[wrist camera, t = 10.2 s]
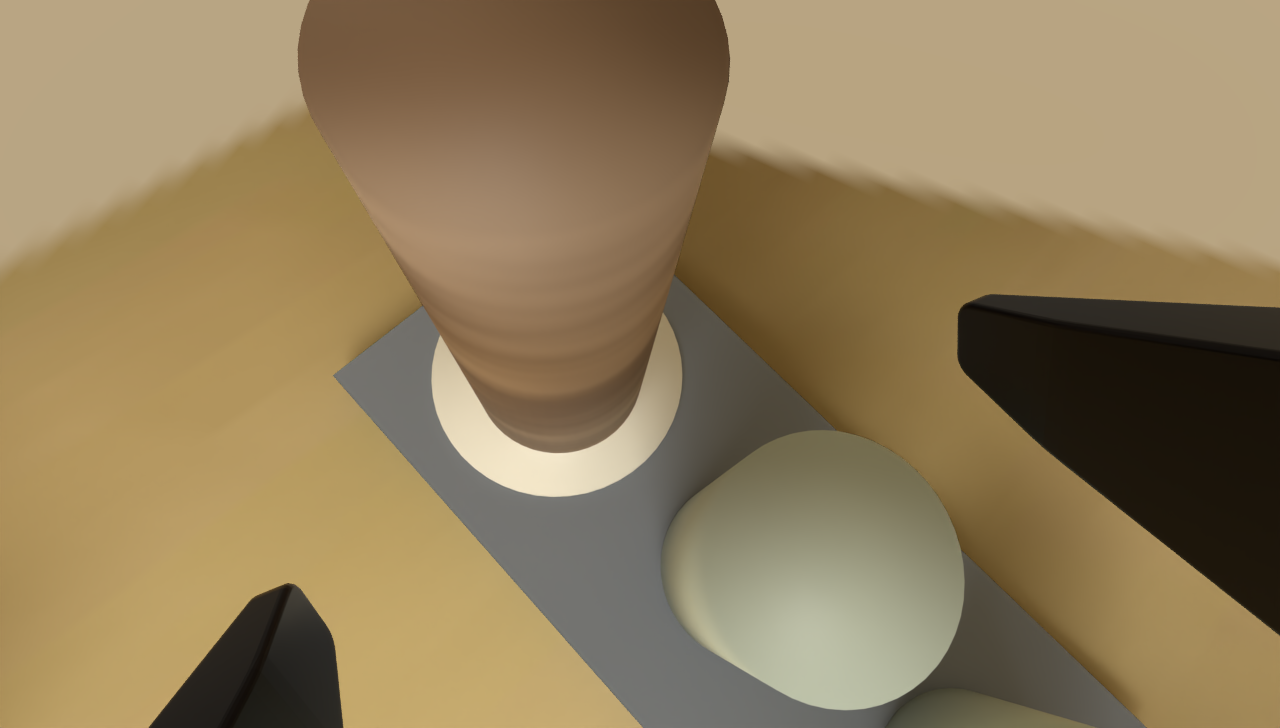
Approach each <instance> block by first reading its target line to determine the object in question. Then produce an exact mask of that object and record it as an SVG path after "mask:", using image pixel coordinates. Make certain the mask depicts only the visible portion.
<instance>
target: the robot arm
mask: <svg viewBox="0 0 1280 728" xmlns="http://www.w3.org/2000/svg"><path fill="white" fill-rule="evenodd" d="M957 355H958V361H959V364H960V366H961V368H962V370H963V371H964V372H965V374H966V375H967V376H968V377H969V378H970V379H971V380H973V381H974V382H975V383H976V384H977V385H978V386H979V387H980V388H981V389H982V390H983V391H984V392H985V393H986V394H987V395H988V396H989V397H990V398H991V399H992V400H993V401H994V402H995V403H996V404H998V405H999V406H1000V407H1001V408H1002V409H1003V410H1004V411H1005V412H1006V413H1007V414H1008V415H1009V416H1010V417H1011V418H1012V419H1013V420H1014V421H1015V422H1016V423H1017V424H1018V425H1019V426H1020V427H1022V428H1023V429H1024V430H1025V431H1026V432H1027V433H1028V434H1029V435H1030V436H1031V437H1032V438H1033V439H1034V440H1035V441H1036V442H1038V443H1039V444H1040V445H1041V446H1042V447H1043V448H1044V449H1045V450H1047V451H1048V452H1049V453H1050V454H1052V455H1053V456H1054V457H1055V458H1056V459H1058V460H1059V461H1060V462H1061V463H1063V464H1064V465H1065V466H1066V467H1068V468H1069V469H1070V470H1071V471H1073V472H1074V473H1075V474H1076V475H1078V476H1079V477H1080V478H1082V479H1083V480H1084V481H1085V482H1087V483H1088V484H1089V485H1090V486H1092V487H1093V488H1094V489H1095V490H1097V491H1098V492H1099V493H1100V494H1102V495H1103V496H1104V497H1106V498H1107V499H1108V500H1109V501H1111V502H1112V503H1113V504H1114V505H1116V506H1117V507H1118V508H1119V509H1121V510H1122V511H1123V512H1124V513H1126V514H1127V515H1128V516H1130V517H1131V518H1132V519H1133V520H1135V521H1136V522H1137V523H1138V524H1140V525H1141V526H1142V527H1143V528H1145V529H1146V530H1147V531H1148V532H1150V533H1151V534H1152V535H1154V536H1155V537H1156V538H1157V539H1159V540H1160V541H1161V542H1162V543H1164V544H1165V545H1166V546H1167V547H1169V548H1170V549H1171V550H1172V551H1174V552H1175V553H1176V554H1178V555H1179V556H1180V557H1181V558H1183V559H1184V560H1185V561H1186V562H1188V563H1189V564H1190V565H1191V566H1193V567H1194V568H1195V569H1196V570H1198V571H1199V572H1200V573H1202V574H1203V575H1204V576H1205V577H1207V578H1208V579H1209V580H1210V581H1212V582H1213V583H1214V584H1215V585H1217V586H1218V587H1219V588H1220V589H1222V590H1223V591H1224V592H1226V593H1227V594H1228V595H1229V596H1231V597H1232V598H1233V599H1234V600H1236V601H1237V602H1238V603H1239V604H1241V605H1242V606H1243V607H1244V608H1246V609H1247V610H1248V611H1249V612H1251V613H1252V614H1253V615H1255V616H1256V617H1257V618H1258V619H1260V620H1261V621H1262V622H1263V623H1265V624H1266V625H1267V626H1268V627H1270V628H1271V629H1272V630H1273V631H1275V632H1276V633H1277V634H1279V635H1280V308H1275V307H1254V306H1232V305H1211V304H1190V303H1168V302H1147V301H1126V300H1104V299H1083V298H1061V297H1040V296H1019V295H997V294H990V295H985V296H983V297H980V298H978V299H975V300H973V301H971V302H968V303H966V304H964V305H963V306H962V307H961V309H960V311H959V313H958V349H957ZM149 728H343V719H342V710H341V700H340V690H339V681H338V671H337V661H336V651H335V645H334V641H333V638H332V635H331V633H330V631H329V629H328V627H327V626H326V624H325V623H324V621H323V620H322V619H321V617H320V616H319V614H318V613H317V611H316V610H315V609H314V607H313V606H312V604H311V603H310V602H309V600H308V599H307V597H306V596H305V595H304V593H303V592H302V590H301V589H300V588H299V587H297V586H296V585H295V584H290V583H287V584H284V585H281V586H279V587H276V588H274V589H272V590H269V591H267V592H264V593H262V594H259V595H257V596H255V597H254V598H252V599H251V600H250V602H249V603H248V604H247V605H246V606H245V608H244V609H243V610H242V611H241V613H240V614H239V615H238V616H237V618H236V619H235V620H234V621H233V623H232V624H231V625H230V626H229V628H228V629H227V630H226V631H225V633H224V634H223V635H222V636H221V638H220V639H219V640H218V641H217V643H216V644H215V645H214V646H213V648H212V649H211V650H210V651H209V653H208V654H207V655H206V656H205V658H204V659H203V660H202V661H201V663H200V664H199V665H198V666H197V668H196V669H195V670H194V671H193V673H192V674H191V675H190V676H189V678H188V679H187V680H186V681H185V683H184V684H183V685H182V686H181V688H180V689H179V690H178V691H177V693H176V694H175V695H174V696H173V698H172V699H171V700H170V701H169V703H168V704H167V705H166V706H165V708H164V709H163V710H162V711H161V713H160V714H159V715H158V716H157V718H156V719H155V720H154V721H153V723H152V724H151V725H150V726H149Z"/></svg>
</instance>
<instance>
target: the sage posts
mask: <svg viewBox="0 0 1280 728" xmlns="http://www.w3.org/2000/svg"><path fill="white" fill-rule="evenodd" d="M661 579H662V584H663V589H664V593H665V596H666V599H667V602H668V604H669V606H670V608H671V611H672V613H673V614H674V616H675V618H676V619H677V621H678V622H679V624H680V625H681V626H682V627H683V629H684V630H685V631H686V632H687V633H688V634H689V635H690V636H691V637H692V638H693V639H694V640H695V641H696V642H698V643H699V644H700V645H702V646H703V647H704V648H706V649H708V650H709V651H711V652H713V653H714V654H716V655H718V656H719V657H721V658H723V659H725V660H726V661H728V662H730V663H731V664H733V665H735V666H737V667H738V668H740V669H742V670H743V671H745V672H747V673H748V674H750V675H752V676H754V677H755V678H757V679H759V680H760V681H762V682H764V683H765V684H767V685H769V686H771V687H772V688H774V689H776V690H778V691H779V692H781V693H783V694H785V695H787V696H789V697H790V698H792V699H795V700H798V701H800V702H803V703H806V704H808V705H812V706H817V707H821V708H826V709H835V710H857V709H866V708H870V707H874V706H879V705H882V704H885V703H887V702H890V701H892V700H895V699H897V698H899V697H901V696H902V695H904V694H906V693H907V692H909V691H911V690H912V689H914V688H915V687H916V686H917V685H919V684H920V683H921V682H922V681H923V680H925V679H926V678H927V677H928V676H929V675H930V673H931V672H932V671H933V670H934V669H935V668H936V667H937V666H938V664H939V663H940V661H941V660H942V658H943V657H944V655H945V654H946V652H947V651H948V649H949V646H950V644H951V642H952V640H953V638H954V636H955V634H956V630H957V627H958V624H959V621H960V618H961V612H962V607H963V601H964V584H965V580H964V566H963V559H962V554H961V549H960V544H959V541H958V538H957V535H956V532H955V529H954V526H953V524H952V522H951V520H950V517H949V515H948V513H947V511H946V509H945V507H944V506H943V504H942V502H941V501H940V499H939V497H938V496H937V494H936V493H935V492H934V490H933V489H932V488H931V486H930V485H929V484H928V482H927V481H926V480H925V479H924V478H923V477H922V476H921V475H920V474H919V473H918V472H917V471H916V470H915V469H914V468H913V467H912V466H911V465H910V464H908V463H907V462H906V461H905V460H904V459H903V458H901V457H900V456H898V455H897V454H895V453H894V452H892V451H891V450H889V449H888V448H886V447H884V446H882V445H880V444H878V443H876V442H874V441H872V440H869V439H866V438H863V437H861V436H858V435H854V434H849V433H845V432H840V431H830V430H812V431H804V432H798V433H793V434H789V435H786V436H783V437H780V438H777V439H775V440H773V441H771V442H769V443H767V444H765V445H763V446H761V447H760V448H758V449H757V450H755V451H754V452H752V453H751V454H750V455H748V456H747V457H745V458H744V459H743V460H741V461H740V462H739V463H737V464H736V465H735V466H733V467H732V468H731V469H729V470H728V471H727V472H725V473H724V474H723V475H721V476H720V477H719V478H717V479H716V480H714V481H713V482H712V483H710V484H709V485H708V486H706V487H705V488H704V489H702V490H701V491H700V492H698V493H697V494H696V495H694V496H693V497H692V498H691V499H690V500H688V501H687V502H686V503H685V504H684V505H683V507H682V508H681V509H680V510H679V511H678V513H677V514H676V516H675V517H674V519H673V520H672V522H671V524H670V526H669V529H668V531H667V533H666V536H665V539H664V543H663V548H662V553H661ZM885 728H1096V727H1093V726H1089V725H1086V724H1083V723H1079V722H1076V721H1072V720H1069V719H1066V718H1062V717H1059V716H1055V715H1052V714H1049V713H1045V712H1042V711H1038V710H1035V709H1032V708H1028V707H1025V706H1021V705H1018V704H1015V703H1011V702H1008V701H1004V700H1001V699H998V698H994V697H991V696H987V695H984V694H981V693H977V692H974V691H969V690H965V689H957V688H944V689H937V690H932V691H928V692H926V693H923V694H921V695H919V696H917V697H915V698H914V699H912V700H910V701H909V702H907V703H906V704H905V705H904V706H903V707H901V708H900V709H899V710H898V711H897V713H896V714H895V715H894V716H893V717H892V718H891V720H890V721H889V723H888V724H887V726H886V727H885Z"/></svg>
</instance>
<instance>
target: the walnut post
mask: <svg viewBox="0 0 1280 728" xmlns="http://www.w3.org/2000/svg"><path fill="white" fill-rule="evenodd" d="M729 67H730V55H729V45H728V37H727V33H726V29H725V26H724V22H723V18H722V15H721V13H720V11H719V8H718V6H717V4H716V1H715V0H310V1H309V3H308V6H307V9H306V12H305V15H304V19H303V22H302V25H301V30H300V37H299V44H298V70H299V71H298V72H299V77H300V82H301V87H302V92H303V96H304V99H305V102H306V104H307V107H308V109H309V112H310V115H311V117H312V119H313V121H314V123H315V124H316V126H317V128H318V130H319V131H320V133H321V135H322V137H323V138H324V140H325V142H326V143H327V145H328V147H329V148H330V150H331V152H332V153H333V155H334V157H335V159H336V160H337V162H338V164H339V165H340V167H341V169H342V170H343V172H344V174H345V175H346V177H347V179H348V180H349V182H350V184H351V185H352V187H353V189H354V191H355V192H356V194H357V196H358V197H359V199H360V201H361V202H362V204H363V206H364V207H365V209H366V211H367V212H368V214H369V216H370V217H371V219H372V221H373V223H374V224H375V226H376V228H377V229H378V231H379V233H380V234H381V236H382V238H383V239H384V241H385V243H386V244H387V246H388V248H389V249H390V251H391V253H392V255H393V256H394V258H395V260H396V261H397V263H398V265H399V266H400V268H401V270H402V271H403V273H404V275H405V276H406V278H407V280H408V281H409V283H410V285H411V286H412V288H413V290H414V292H415V293H416V295H417V297H418V298H419V300H420V302H421V303H422V305H423V307H424V308H425V310H426V312H427V313H428V315H429V317H430V318H431V320H432V322H433V324H434V325H435V327H436V329H437V330H438V332H439V334H440V335H441V337H442V339H443V340H444V342H445V344H446V345H447V347H448V349H449V350H450V352H451V354H452V356H453V357H454V359H455V361H456V362H457V364H458V366H459V367H460V369H461V371H462V372H463V374H464V376H465V377H466V379H467V381H468V382H469V384H470V386H471V387H472V389H473V391H474V393H475V394H476V396H477V398H478V399H479V401H480V403H481V404H482V406H483V408H484V409H485V411H486V413H487V414H488V416H489V418H490V419H491V420H492V422H493V423H494V424H495V425H496V427H497V428H498V429H499V430H500V431H502V432H503V433H504V434H505V435H506V436H508V437H509V438H510V439H512V440H513V441H515V442H517V443H519V444H520V445H522V446H525V447H527V448H530V449H533V450H537V451H541V452H547V453H569V452H575V451H580V450H583V449H586V448H589V447H591V446H594V445H596V444H598V443H600V442H602V441H603V440H605V439H607V438H608V437H609V436H611V435H612V434H613V433H614V432H616V431H617V430H618V429H619V427H620V426H621V425H622V424H623V423H624V422H625V421H626V419H627V418H628V417H629V415H630V413H631V412H632V410H633V408H634V406H635V404H636V401H637V398H638V396H639V392H640V389H641V386H642V382H643V379H644V375H645V372H646V368H647V365H648V362H649V358H650V355H651V351H652V348H653V344H654V341H655V338H656V334H657V331H658V327H659V324H660V320H661V317H662V314H663V310H664V307H665V303H666V300H667V296H668V293H669V290H670V286H671V283H672V279H673V276H674V272H675V269H676V266H677V262H678V259H679V255H680V252H681V248H682V245H683V242H684V238H685V235H686V231H687V228H688V224H689V221H690V218H691V214H692V211H693V207H694V204H695V200H696V197H697V194H698V190H699V187H700V183H701V180H702V176H703V173H704V170H705V166H706V163H707V159H708V156H709V152H710V149H711V146H712V142H713V139H714V135H715V132H716V128H717V125H718V121H719V118H720V115H721V111H722V108H723V104H724V100H725V96H726V91H727V87H728V82H729Z"/></svg>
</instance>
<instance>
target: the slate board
mask: <svg viewBox="0 0 1280 728" xmlns="http://www.w3.org/2000/svg"><path fill="white" fill-rule="evenodd" d="M333 376H334V377H335V378H336V380H337V381H338V382H339V383H340V384H341V385H342V386H343V388H344V389H345V390H346V391H347V392H348V393H349V394H350V396H351V397H352V398H353V399H354V400H355V401H356V402H357V403H358V405H359V406H360V407H361V408H362V409H363V410H364V411H365V413H366V414H367V415H368V416H369V417H370V418H371V419H372V420H373V422H374V423H375V424H376V425H377V426H378V427H379V428H380V430H381V431H382V432H383V433H384V434H385V435H386V436H387V438H388V439H389V440H390V441H391V442H392V443H393V444H394V445H395V447H396V448H397V449H398V450H399V451H400V452H401V453H402V455H403V456H404V457H405V458H406V459H407V460H408V461H409V462H410V464H411V465H412V466H413V467H414V468H415V469H416V470H417V472H418V473H419V474H420V475H421V476H422V477H423V478H424V479H425V481H426V482H427V483H428V484H429V485H430V486H431V487H432V489H433V490H434V491H435V492H436V493H437V494H438V495H439V497H440V498H441V499H442V500H443V501H444V502H445V503H446V504H447V506H448V507H449V508H450V509H451V510H452V511H453V512H454V514H455V515H456V516H457V517H458V518H459V519H460V520H461V521H462V523H463V524H464V525H465V526H466V527H467V528H468V529H469V531H470V532H471V533H472V534H473V535H474V536H475V537H476V539H477V540H478V541H479V542H480V543H481V544H482V545H483V546H484V548H485V549H486V550H487V551H488V552H489V553H490V554H491V556H492V557H493V558H494V559H495V560H496V561H497V562H498V563H499V565H500V566H501V567H502V568H503V569H504V570H505V571H506V573H507V574H508V575H509V576H510V577H511V578H512V579H513V581H514V582H515V583H516V584H517V585H518V586H519V587H520V588H521V590H522V591H523V592H524V593H525V594H526V595H527V596H528V598H529V599H530V600H531V601H532V602H533V603H534V604H535V605H536V607H537V608H538V609H539V610H540V611H541V612H542V613H543V615H544V616H545V617H546V618H547V619H548V620H549V621H550V623H551V624H552V625H553V626H554V627H555V628H556V629H557V630H558V632H559V633H560V634H561V635H562V636H563V637H564V638H565V640H566V641H567V642H568V643H569V644H570V645H571V646H572V647H573V649H574V650H575V651H576V652H577V653H578V654H579V655H580V657H581V658H582V659H583V660H584V661H585V662H586V663H587V665H588V666H589V667H590V668H591V669H592V670H593V671H594V672H595V674H596V675H597V676H598V677H599V678H600V679H601V680H602V682H603V683H604V684H605V685H606V686H607V687H608V688H609V689H610V691H611V692H612V693H613V694H614V695H615V696H616V697H617V699H618V700H619V701H620V702H621V703H622V704H623V705H624V706H625V708H626V709H627V710H628V711H629V712H630V713H631V714H632V716H633V717H634V718H635V719H636V720H637V721H638V722H639V724H640V725H641V726H642V727H643V728H885V727H886V726H887V724H888V723H889V721H890V720H891V718H892V717H893V716H894V715H895V714H896V713H897V711H898V710H899V709H900V708H901V707H903V706H904V705H905V704H906V703H907V702H909V701H910V700H912V699H914V698H915V697H917V696H919V695H921V694H923V693H926V692H928V691H932V690H937V689H944V688H957V689H965V690H969V691H974V692H977V693H981V694H984V695H987V696H991V697H994V698H998V699H1001V700H1004V701H1008V702H1011V703H1015V704H1018V705H1021V706H1025V707H1028V708H1032V709H1035V710H1038V711H1042V712H1045V713H1049V714H1052V715H1055V716H1059V717H1062V718H1066V719H1069V720H1072V721H1076V722H1079V723H1083V724H1086V725H1089V726H1093V727H1096V728H1146V727H1145V726H1144V725H1143V724H1142V723H1141V722H1140V721H1139V720H1138V719H1137V718H1136V717H1135V716H1134V715H1133V714H1132V713H1131V712H1130V711H1129V710H1128V709H1127V708H1126V707H1125V706H1124V705H1122V704H1121V703H1120V702H1119V701H1118V700H1117V699H1116V698H1115V697H1114V696H1113V695H1112V694H1111V693H1110V692H1109V691H1108V690H1107V689H1106V688H1105V687H1104V686H1103V685H1102V684H1101V683H1100V682H1098V681H1097V680H1096V679H1095V678H1094V677H1093V676H1092V675H1091V674H1090V673H1089V672H1088V671H1087V670H1086V669H1085V668H1084V667H1083V666H1082V665H1081V664H1080V663H1079V662H1078V661H1077V660H1076V659H1075V658H1073V657H1072V656H1071V655H1070V654H1069V653H1068V652H1067V651H1066V650H1065V649H1064V648H1063V647H1062V646H1061V645H1060V644H1059V643H1058V642H1057V641H1056V640H1055V639H1054V638H1053V637H1052V636H1051V635H1049V634H1048V633H1047V632H1046V631H1045V630H1044V629H1043V628H1042V627H1041V626H1040V625H1039V624H1038V623H1037V622H1036V621H1035V620H1034V619H1033V618H1032V617H1031V616H1030V615H1029V614H1028V613H1027V612H1025V611H1024V610H1023V609H1022V608H1021V607H1020V606H1019V605H1018V604H1017V603H1016V602H1015V601H1014V600H1013V599H1012V598H1011V597H1010V596H1009V595H1008V594H1007V593H1006V592H1005V591H1004V590H1003V589H1001V588H1000V587H999V586H998V585H997V584H996V583H995V582H994V581H993V580H992V579H991V578H990V577H989V576H988V575H987V574H986V573H985V572H984V571H983V570H982V569H981V568H980V567H979V566H977V565H976V564H975V563H974V562H973V561H972V560H971V559H970V558H969V557H968V556H967V555H966V554H965V553H964V552H963V551H962V550H961V554H962V559H963V566H964V580H965V584H964V601H963V607H962V612H961V618H960V621H959V624H958V627H957V630H956V634H955V636H954V638H953V640H952V642H951V644H950V646H949V649H948V651H947V652H946V654H945V655H944V657H943V658H942V660H941V661H940V663H939V664H938V666H937V667H936V668H935V669H934V670H933V671H932V672H931V673H930V675H929V676H928V677H927V678H926V679H925V680H923V681H922V682H921V683H920V684H919V685H917V686H916V687H915V688H914V689H912V690H911V691H909V692H907V693H906V694H904V695H902V696H901V697H899V698H897V699H895V700H892V701H890V702H887V703H885V704H882V705H879V706H874V707H870V708H866V709H857V710H835V709H826V708H821V707H817V706H812V705H808V704H806V703H803V702H800V701H798V700H795V699H792V698H790V697H789V696H787V695H785V694H783V693H781V692H779V691H778V690H776V689H774V688H772V687H771V686H769V685H767V684H765V683H764V682H762V681H760V680H759V679H757V678H755V677H754V676H752V675H750V674H748V673H747V672H745V671H743V670H742V669H740V668H738V667H737V666H735V665H733V664H731V663H730V662H728V661H726V660H725V659H723V658H721V657H719V656H718V655H716V654H714V653H713V652H711V651H709V650H708V649H706V648H704V647H703V646H702V645H700V644H699V643H698V642H696V641H695V640H694V639H693V638H692V637H691V636H690V635H689V634H688V633H687V632H686V631H685V630H684V629H683V627H682V626H681V625H680V624H679V622H678V621H677V619H676V618H675V616H674V614H673V613H672V611H671V608H670V606H669V604H668V602H667V599H666V596H665V593H664V589H663V584H662V579H661V553H662V548H663V543H664V539H665V536H666V533H667V531H668V529H669V526H670V524H671V522H672V520H673V519H674V517H675V516H676V514H677V513H678V511H679V510H680V509H681V508H682V507H683V505H684V504H685V503H686V502H687V501H688V500H690V499H691V498H692V497H693V496H694V495H696V494H697V493H698V492H700V491H701V490H702V489H704V488H705V487H706V486H708V485H709V484H710V483H712V482H713V481H714V480H716V479H717V478H719V477H720V476H721V475H723V474H724V473H725V472H727V471H728V470H729V469H731V468H732V467H733V466H735V465H736V464H737V463H739V462H740V461H741V460H743V459H744V458H745V457H747V456H748V455H750V454H751V453H752V452H754V451H755V450H757V449H758V448H760V447H761V446H763V445H765V444H767V443H769V442H771V441H773V440H775V439H777V438H780V437H783V436H786V435H789V434H793V433H798V432H804V431H812V430H830V431H837V430H836V429H835V428H834V427H833V426H831V425H830V424H829V423H828V422H827V421H826V420H825V419H824V418H823V417H822V416H821V415H820V414H819V413H818V412H817V411H816V410H815V409H814V408H813V407H812V406H811V405H810V404H809V403H807V402H806V401H805V400H804V399H803V398H802V397H801V396H800V395H799V394H798V393H797V392H796V391H795V390H794V389H793V388H792V387H791V386H790V385H789V384H788V383H787V382H786V381H785V380H783V379H782V378H781V377H780V376H779V375H778V374H777V373H776V372H775V371H774V370H773V369H772V368H771V367H770V366H769V365H768V364H767V363H766V362H765V361H764V360H763V359H762V358H761V357H759V356H758V355H757V354H756V353H755V352H754V351H753V350H752V349H751V348H750V347H749V346H748V345H747V344H746V343H745V342H744V341H743V340H742V339H741V338H740V337H739V336H738V335H737V334H736V333H734V332H733V331H732V330H731V329H730V328H729V327H728V326H727V325H726V324H725V323H724V322H723V321H722V320H721V319H720V318H719V317H718V316H717V315H716V314H715V313H714V312H713V311H712V310H710V309H709V308H708V307H707V306H706V305H705V304H704V303H703V302H702V301H701V300H700V299H699V298H698V297H697V296H696V295H695V294H694V293H693V292H692V291H691V290H690V289H689V288H688V287H686V286H685V285H684V284H683V283H682V282H681V281H680V280H679V279H678V278H677V277H676V276H675V275H674V276H673V279H672V283H671V286H670V290H669V293H668V296H667V300H666V303H665V307H664V310H663V314H662V317H661V320H660V324H659V327H658V331H657V334H656V338H655V341H654V344H653V348H652V351H651V355H650V358H649V362H648V365H647V368H646V372H645V375H644V379H643V382H642V386H641V389H640V392H639V396H638V398H637V401H636V404H635V406H634V408H633V410H632V412H631V413H630V415H629V417H628V418H627V419H626V421H625V422H624V423H623V424H622V425H621V426H620V427H619V429H618V430H617V431H616V432H614V433H613V434H612V435H611V436H609V437H608V438H607V439H605V440H603V441H602V442H600V443H598V444H596V445H594V446H591V447H589V448H586V449H583V450H580V451H575V452H569V453H547V452H541V451H537V450H533V449H530V448H527V447H525V446H522V445H520V444H519V443H517V442H515V441H513V440H512V439H510V438H509V437H508V436H506V435H505V434H504V433H503V432H502V431H500V430H499V429H498V428H497V427H496V425H495V424H494V423H493V422H492V420H491V419H490V418H489V416H488V414H487V413H486V411H485V409H484V408H483V406H482V404H481V403H480V401H479V399H478V398H477V396H476V394H475V393H474V391H473V389H472V387H471V386H470V384H469V382H468V381H467V379H466V377H465V376H464V374H463V372H462V371H461V369H460V367H459V366H458V364H457V362H456V361H455V359H454V357H453V356H452V354H451V352H450V350H449V349H448V347H447V345H446V344H445V342H444V340H443V339H442V337H441V335H440V334H439V332H438V330H437V329H436V327H435V325H434V324H433V322H432V320H431V318H430V317H429V315H428V313H427V312H426V310H425V308H424V307H423V306H422V307H421V308H419V309H418V310H417V311H415V312H414V313H413V314H412V315H410V316H409V317H408V318H406V319H405V320H404V321H402V322H401V323H400V324H399V325H397V326H396V327H395V328H393V329H392V330H391V331H390V332H388V333H387V334H386V335H384V336H383V337H382V338H381V339H379V340H378V341H377V342H375V343H374V344H373V345H372V346H370V347H369V348H368V349H366V350H365V351H364V352H363V353H361V354H360V355H359V356H357V357H356V358H355V359H354V360H352V361H351V362H350V363H348V364H347V365H346V366H344V367H343V368H342V369H341V370H339V371H338V372H337V373H335V374H334V375H333Z"/></svg>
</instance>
